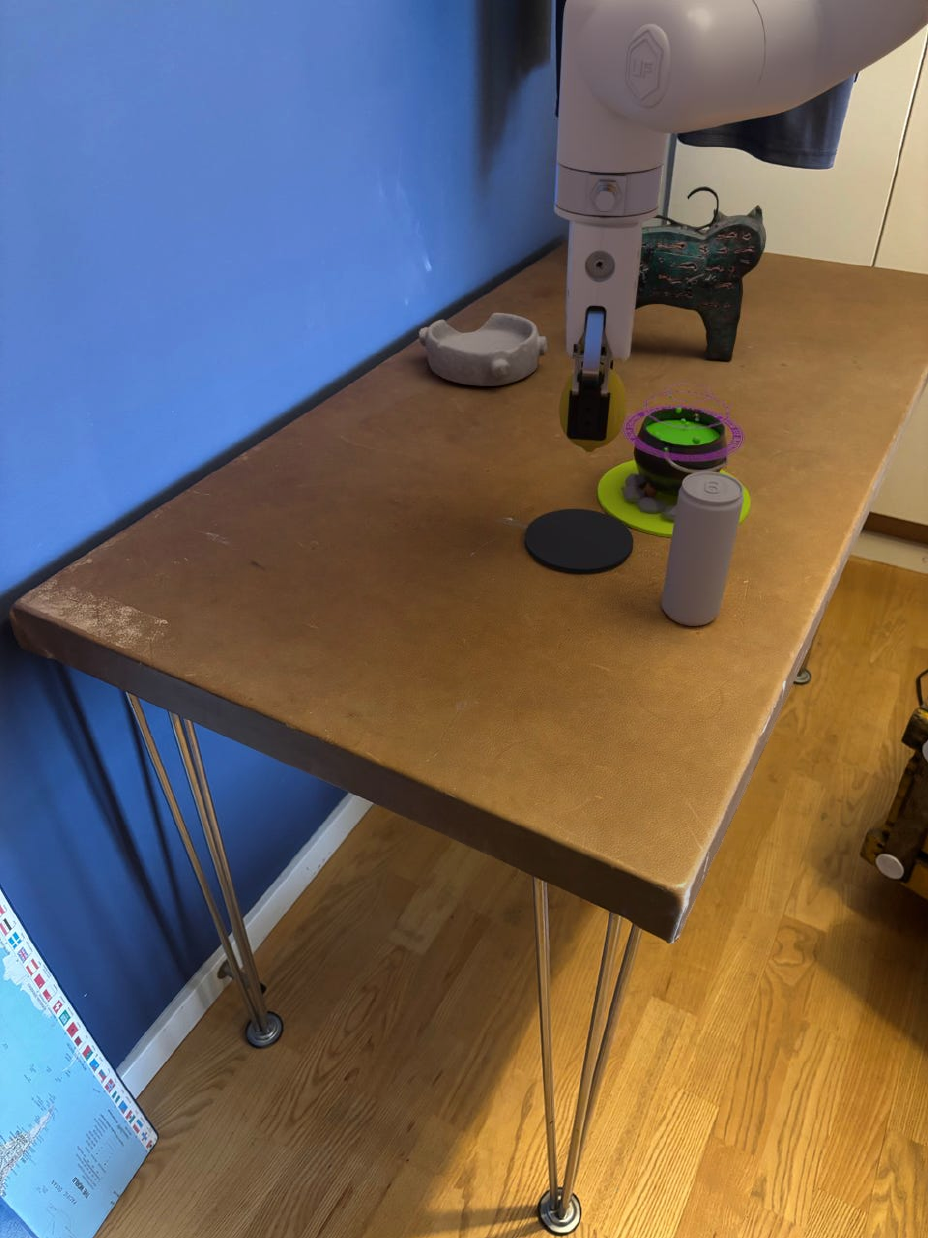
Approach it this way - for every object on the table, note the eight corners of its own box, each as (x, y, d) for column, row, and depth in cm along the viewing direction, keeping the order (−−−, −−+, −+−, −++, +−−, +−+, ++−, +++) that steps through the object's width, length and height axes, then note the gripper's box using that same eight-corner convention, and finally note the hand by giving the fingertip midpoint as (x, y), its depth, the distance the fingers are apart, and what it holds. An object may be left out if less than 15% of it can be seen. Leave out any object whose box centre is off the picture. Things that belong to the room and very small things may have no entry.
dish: (407, 364, 116) (404, 326, 113) (491, 338, 123) (492, 301, 120) (476, 403, 107) (476, 363, 104) (564, 373, 114) (566, 334, 111)
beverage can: (656, 623, 75) (676, 497, 67) (664, 589, 78) (683, 466, 71) (716, 633, 74) (743, 506, 66) (721, 599, 77) (747, 475, 70)
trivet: (607, 506, 89) (608, 501, 89) (651, 563, 82) (651, 558, 81) (510, 522, 87) (510, 517, 87) (545, 582, 79) (545, 576, 79)
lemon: (546, 458, 77) (551, 368, 72) (572, 431, 81) (578, 344, 76) (607, 472, 75) (616, 381, 70) (630, 444, 79) (641, 356, 74)
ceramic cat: (744, 349, 119) (776, 184, 106) (744, 369, 114) (776, 198, 102) (593, 336, 123) (606, 176, 110) (586, 355, 118) (599, 189, 105)
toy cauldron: (721, 555, 82) (743, 445, 76) (571, 510, 89) (579, 405, 82) (770, 482, 92) (793, 379, 85) (632, 446, 99) (644, 348, 92)
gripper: (661, 225, 58) (631, 474, 69) (660, 162, 71) (635, 380, 83) (544, 221, 59) (533, 467, 70) (564, 160, 72) (552, 376, 84)
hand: (588, 418), depth 76 cm, fingers closed on lemon, 5 cm apart
